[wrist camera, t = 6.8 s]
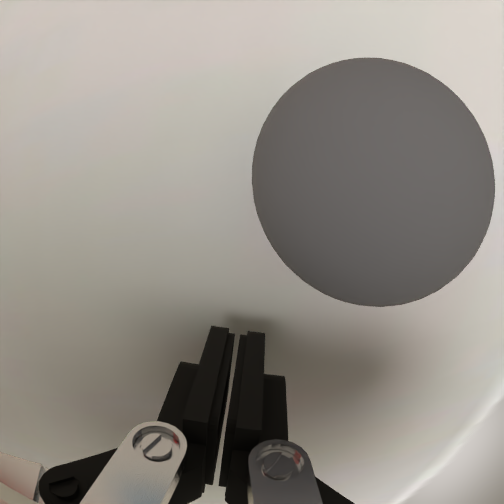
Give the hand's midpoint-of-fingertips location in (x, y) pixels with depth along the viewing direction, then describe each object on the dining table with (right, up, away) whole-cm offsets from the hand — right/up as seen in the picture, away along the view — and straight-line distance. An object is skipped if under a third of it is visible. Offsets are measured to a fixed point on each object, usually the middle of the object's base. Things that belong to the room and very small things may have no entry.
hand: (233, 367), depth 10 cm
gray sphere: (+3, +5, -3) cm, 7 cm away
